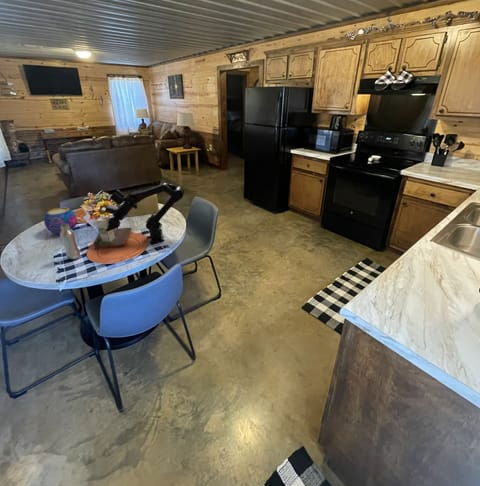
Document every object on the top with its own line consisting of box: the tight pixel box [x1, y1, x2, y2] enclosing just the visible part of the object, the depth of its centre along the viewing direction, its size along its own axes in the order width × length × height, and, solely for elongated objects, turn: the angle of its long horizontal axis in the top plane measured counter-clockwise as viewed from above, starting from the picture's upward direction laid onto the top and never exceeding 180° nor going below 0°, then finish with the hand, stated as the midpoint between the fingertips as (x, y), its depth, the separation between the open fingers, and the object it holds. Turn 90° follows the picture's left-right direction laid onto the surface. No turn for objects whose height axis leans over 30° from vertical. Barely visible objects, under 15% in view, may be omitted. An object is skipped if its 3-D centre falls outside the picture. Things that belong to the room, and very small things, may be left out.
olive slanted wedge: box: [92, 227, 132, 250], centre depth 162 cm, size 16×22×4 cm
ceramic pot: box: [43, 206, 78, 235], centre depth 169 cm, size 18×18×15 cm
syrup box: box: [95, 216, 115, 242], centre depth 156 cm, size 6×6×14 cm
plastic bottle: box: [59, 224, 81, 261], centre depth 140 cm, size 6×7×20 cm
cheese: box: [127, 194, 160, 218], centre depth 195 cm, size 22×10×15 cm, turn 120°
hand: (108, 227), depth 155 cm, fingers open, 9 cm apart
